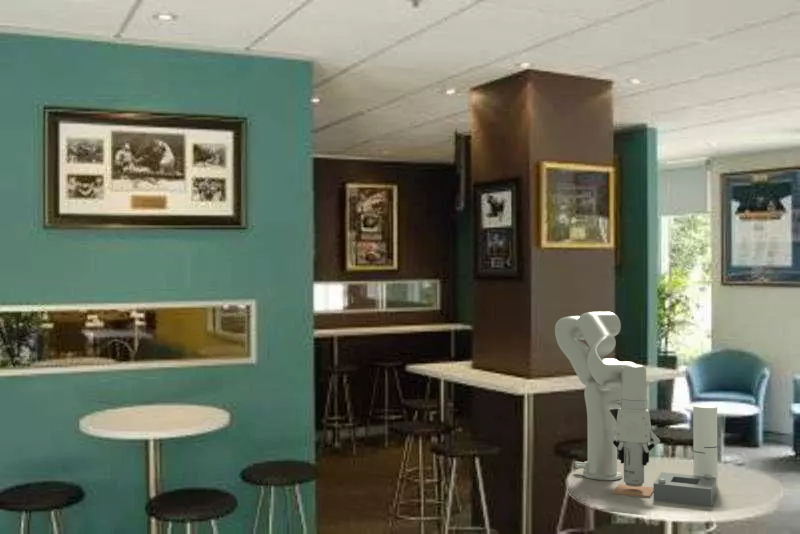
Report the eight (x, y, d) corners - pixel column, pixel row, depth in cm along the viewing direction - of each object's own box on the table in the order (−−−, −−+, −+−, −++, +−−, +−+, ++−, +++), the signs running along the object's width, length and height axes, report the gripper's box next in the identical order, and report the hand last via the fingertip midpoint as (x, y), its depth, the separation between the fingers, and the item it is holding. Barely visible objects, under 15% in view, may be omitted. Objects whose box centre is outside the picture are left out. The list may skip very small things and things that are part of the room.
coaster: (612, 493, 254) (612, 491, 254) (619, 485, 264) (619, 483, 264) (649, 497, 250) (649, 495, 250) (655, 489, 260) (655, 487, 260)
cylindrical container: (719, 488, 261) (719, 408, 261) (695, 487, 262) (694, 407, 263) (715, 483, 268) (715, 405, 268) (692, 482, 269) (691, 404, 270)
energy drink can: (619, 483, 259) (619, 434, 259) (635, 481, 261) (635, 433, 261) (632, 487, 253) (631, 438, 253) (648, 486, 255) (648, 436, 256)
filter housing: (653, 500, 247) (653, 480, 247) (661, 488, 261) (661, 469, 261) (711, 506, 240) (711, 485, 240) (716, 494, 254) (716, 474, 255)
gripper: (602, 404, 258) (603, 463, 258) (661, 408, 250) (661, 468, 250) (607, 401, 265) (608, 458, 264) (664, 405, 257) (664, 464, 257)
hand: (633, 463), depth 257 cm, fingers closed on energy drink can, 6 cm apart
